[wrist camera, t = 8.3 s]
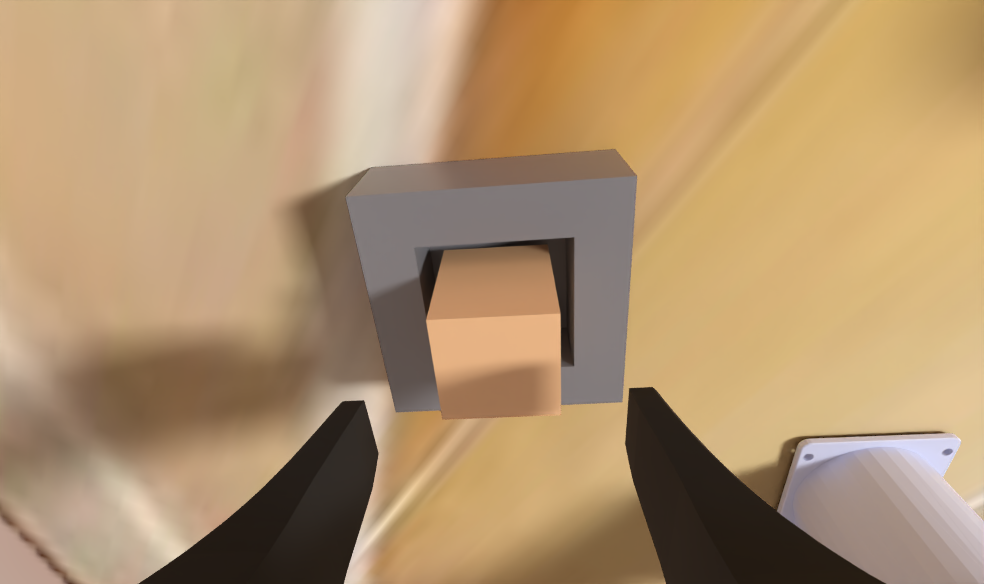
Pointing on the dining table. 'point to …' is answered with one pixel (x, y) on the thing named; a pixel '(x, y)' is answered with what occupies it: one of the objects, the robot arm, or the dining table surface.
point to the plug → (496, 333)
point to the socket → (501, 223)
